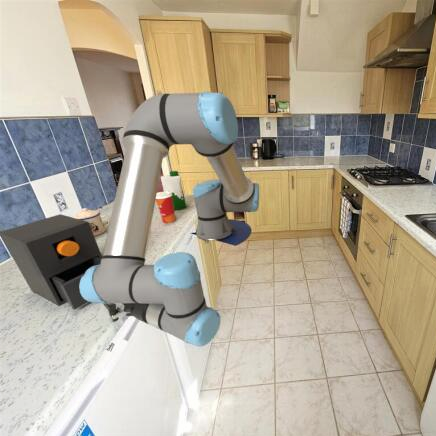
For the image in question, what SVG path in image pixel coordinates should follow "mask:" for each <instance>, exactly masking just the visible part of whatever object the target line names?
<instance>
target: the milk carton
mask: <svg viewBox="0 0 436 436" xmlns="http://www.w3.org/2000/svg"><path fill="white" fill-rule="evenodd" d="M160 180H161V186H162V190H163V192H166V191H169V192H171V194H172V200H173V206H174V212H175V211H180V210H185V209H187V204H186V198H185V193H184V188H183V184H182V176H181V175H180V174H179V171H178V170H172V171H169V174H166V175H160Z"/></svg>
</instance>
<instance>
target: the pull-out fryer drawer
mask: <svg viewBox="0 0 436 436" xmlns="http://www.w3.org/2000/svg"><path fill="white" fill-rule="evenodd" d="M100 264H101V258H98V257H94V258H92V259H90V260H87V261H85V262H83V263H81V264H79V265H76V266H74V267H72V268H70V269H68V270H66V271H63V272H61V273H59V274H57V275H55V276H52V277H50V278H49V279H50V281H51V283H52V285H53V287H54V289H55V291H56V293H57V295H58V297H59V298H61V299H63V300H65V301H67V302H66V303H68V304H69V305H70V306H71V309H73V310H74V311H75V310H77V309H79V308H82V306H84V305H86V304H87V303H90V302H89V301H87V300H85V299H84V298H83V297H82V295H81V293H80V288H79V285H80V281H81V278H82V277H83V276H84V275H85V272H86V271H87V270H88V269H89V268H91V267H93V266H96V265H100Z"/></svg>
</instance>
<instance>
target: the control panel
mask: <svg viewBox="0 0 436 436" xmlns="http://www.w3.org/2000/svg"><path fill="white" fill-rule="evenodd" d="M69 216H70V215H65V214H61V213H60V214H56V215H53V216H49V217H46V218H43V219H40V220H36V221H32V222H29V223H26V224H21V225H19V226H15V227H12V228H8V229H6V230H1V231H0V238H1V240H2V242H3V243H4V245H5V247H6V248H7V250H8V252H9V254H10V256H11V257H12V259H13V261H14V263H15V264H16V265H17V264H18V265H20V266H22V267H24V268H26V269H28V270H30V271H32V272H34V273H36V274H38V275H40V276H42V277H45V276H47V275H49V274H51V273H54V272H56V271H58V270H60V269H63V268H65V267H67V266H69V265H71V264H74V263H76V262H78V261H80V260H83V259H85V258H87V257H89V256H92V255H94V254H96V253H98V252H101V250H100V248H99V245H98V243H97V240H96V238H95V237H96V236H94V235H93V232H92V230H91V227H90V225H89V222H87V221H84V220H80V219H76V218H73V217H72V216H70V217H69ZM65 240H70V241H73V242H76V243H77V244H78V245H79V251H78V252H77V253H76V254H75V255H73V256H64V255H62V254H59V253H58V252H57V249H56V248H57V245H58V244H59V243H60V242H62V241H65Z"/></svg>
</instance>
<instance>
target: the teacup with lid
mask: <svg viewBox="0 0 436 436" xmlns="http://www.w3.org/2000/svg"><path fill="white" fill-rule="evenodd" d="M72 218H76V219H80V220H84V221H87V222H89V225H90V227H91V230H92V232H93V235H94V237H96V236H99V235H102V234H103V233H104V232H106V228H105V227H107V226H108V227H109V224H110V220H111V217H109V216H108V215H101V211H99V210H94V209H88V207H84V208H81V210H80V211H79V212H78V213H76V214H74V216H73V217H72ZM103 219H106V220H107V223H106V224H104V221H103Z"/></svg>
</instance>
